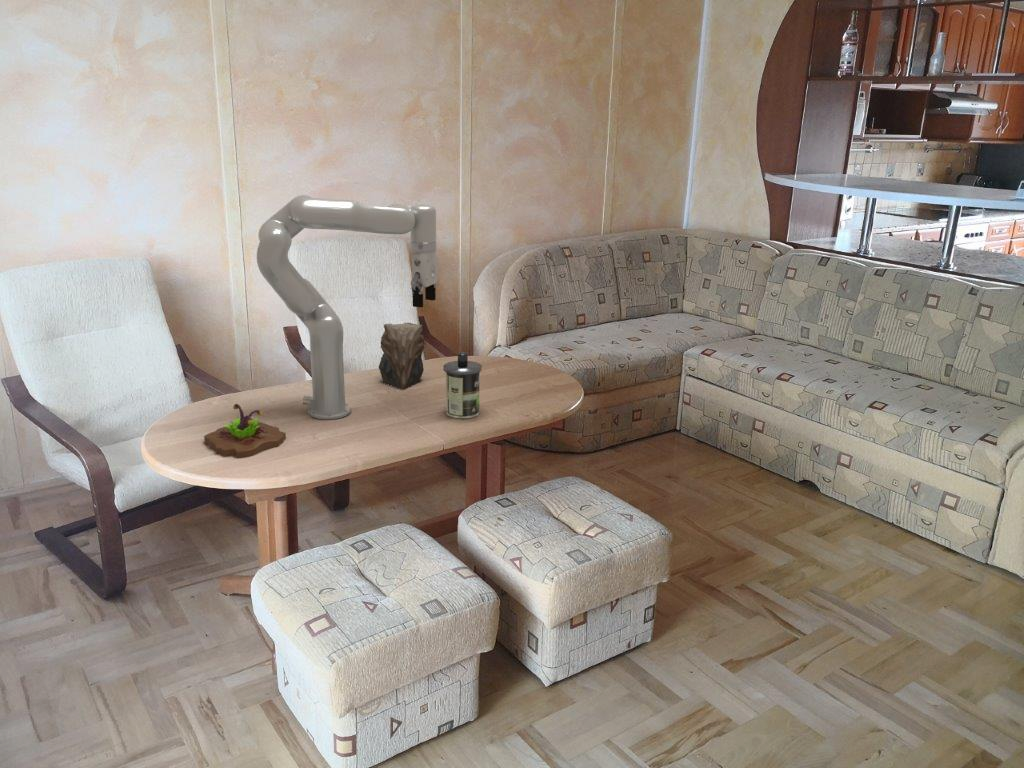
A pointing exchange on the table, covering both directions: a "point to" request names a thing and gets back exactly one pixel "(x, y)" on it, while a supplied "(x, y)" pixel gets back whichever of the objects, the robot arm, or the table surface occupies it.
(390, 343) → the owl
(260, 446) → the plant
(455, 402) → the coffee can
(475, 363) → the lid
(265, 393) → the table surface
